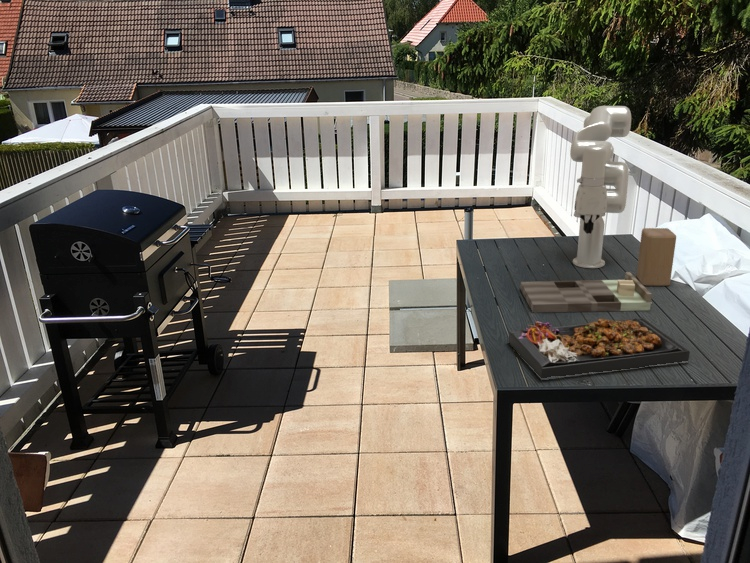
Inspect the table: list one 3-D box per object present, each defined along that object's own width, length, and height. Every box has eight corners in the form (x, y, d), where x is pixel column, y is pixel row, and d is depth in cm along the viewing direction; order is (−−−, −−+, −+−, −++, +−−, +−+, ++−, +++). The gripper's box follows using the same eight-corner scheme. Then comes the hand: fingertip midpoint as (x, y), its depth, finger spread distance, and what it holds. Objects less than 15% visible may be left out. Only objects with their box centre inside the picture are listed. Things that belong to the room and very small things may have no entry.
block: (662, 277, 254) (668, 227, 247) (670, 286, 245) (677, 235, 238) (635, 277, 255) (641, 227, 248) (642, 286, 246) (649, 235, 239)
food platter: (540, 383, 182) (543, 349, 179) (508, 344, 205) (509, 314, 201) (687, 364, 190) (692, 332, 186) (640, 329, 212) (644, 300, 209)
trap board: (520, 289, 247) (521, 274, 245) (627, 287, 245) (629, 271, 243) (532, 312, 226) (533, 296, 224) (649, 310, 225) (651, 294, 223)
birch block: (616, 290, 235) (617, 279, 234) (631, 290, 234) (632, 280, 233) (618, 295, 230) (619, 284, 229) (633, 296, 229) (635, 285, 228)
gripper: (573, 184, 222) (569, 236, 229) (617, 183, 222) (612, 235, 229) (567, 179, 229) (564, 229, 236) (610, 178, 229) (605, 228, 236)
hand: (587, 232), depth 233 cm, fingers closed
